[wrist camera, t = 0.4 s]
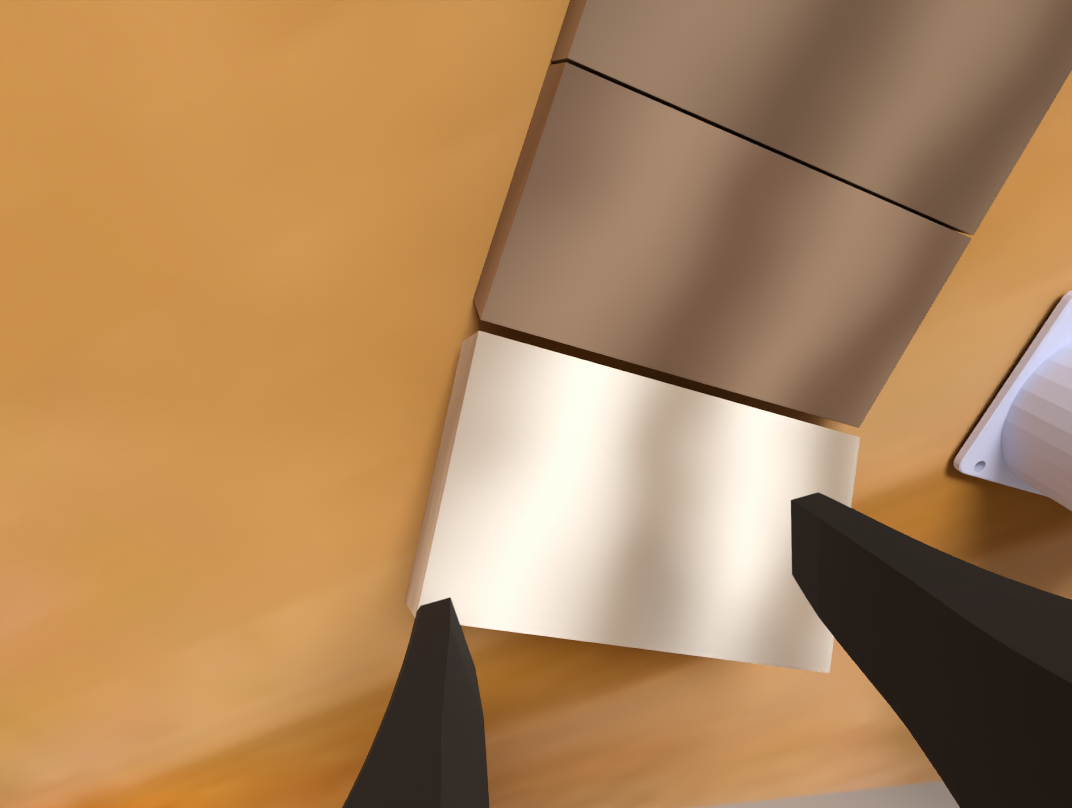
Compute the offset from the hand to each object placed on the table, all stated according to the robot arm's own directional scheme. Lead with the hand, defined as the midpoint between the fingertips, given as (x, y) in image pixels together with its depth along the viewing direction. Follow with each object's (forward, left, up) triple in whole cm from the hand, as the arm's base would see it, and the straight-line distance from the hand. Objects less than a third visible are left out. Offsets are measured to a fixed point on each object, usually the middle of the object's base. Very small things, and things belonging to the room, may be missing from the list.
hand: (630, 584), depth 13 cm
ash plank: (-4, +2, -7) cm, 9 cm away
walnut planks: (-4, -9, -10) cm, 14 cm away
